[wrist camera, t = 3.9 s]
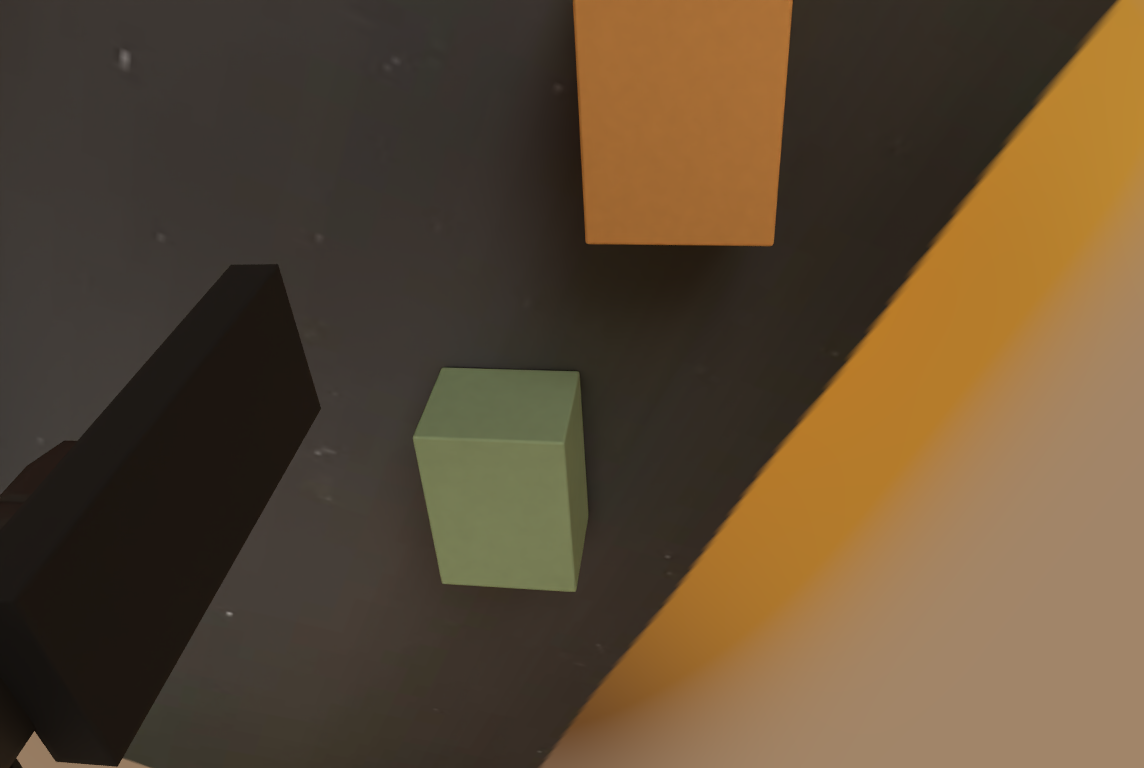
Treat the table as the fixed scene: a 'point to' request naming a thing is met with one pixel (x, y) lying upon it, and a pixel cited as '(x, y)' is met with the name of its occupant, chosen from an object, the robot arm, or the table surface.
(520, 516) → the pad green
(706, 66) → the block ochre
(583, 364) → the table surface
